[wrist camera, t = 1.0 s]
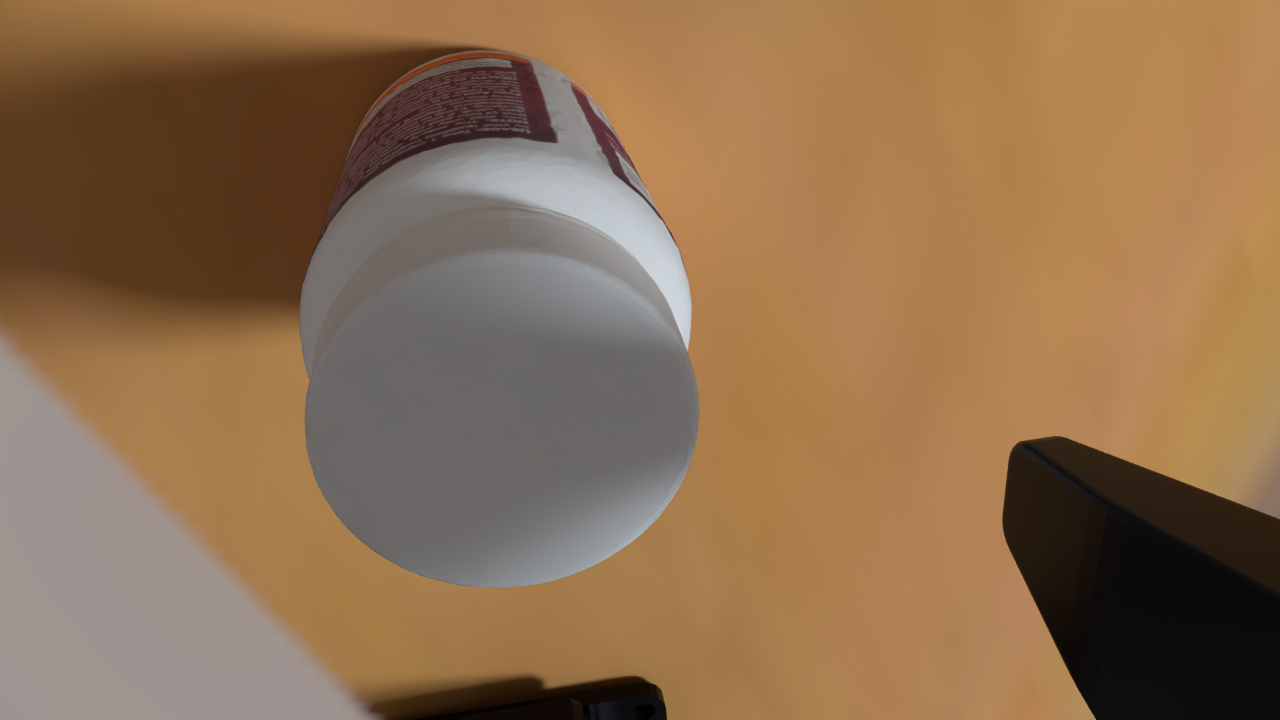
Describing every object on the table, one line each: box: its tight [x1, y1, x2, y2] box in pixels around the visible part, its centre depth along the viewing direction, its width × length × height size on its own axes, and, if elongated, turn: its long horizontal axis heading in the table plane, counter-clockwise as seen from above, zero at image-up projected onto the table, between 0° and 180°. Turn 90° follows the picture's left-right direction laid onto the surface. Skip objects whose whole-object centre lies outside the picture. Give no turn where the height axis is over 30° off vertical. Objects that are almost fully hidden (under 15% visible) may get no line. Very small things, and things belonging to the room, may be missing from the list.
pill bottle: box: [299, 50, 699, 588], centre depth 14 cm, size 5×5×8 cm
